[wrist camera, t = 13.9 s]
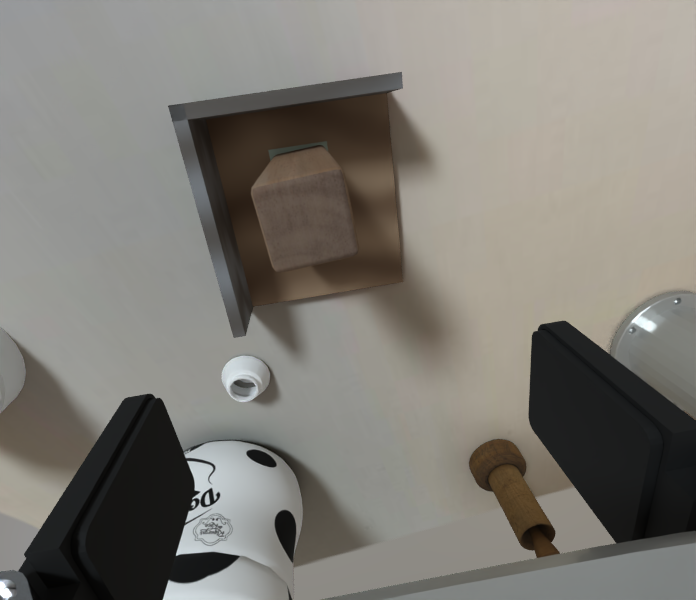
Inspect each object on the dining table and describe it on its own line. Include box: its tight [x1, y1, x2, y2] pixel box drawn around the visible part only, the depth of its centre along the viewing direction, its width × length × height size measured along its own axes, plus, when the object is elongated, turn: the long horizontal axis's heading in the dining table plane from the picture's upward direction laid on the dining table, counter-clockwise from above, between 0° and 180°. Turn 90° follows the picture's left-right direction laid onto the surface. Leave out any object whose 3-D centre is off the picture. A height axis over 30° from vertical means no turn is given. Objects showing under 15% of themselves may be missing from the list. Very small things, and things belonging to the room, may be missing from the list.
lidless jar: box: [222, 356, 270, 402], centre depth 44 cm, size 5×3×5 cm
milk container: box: [163, 440, 303, 600], centre depth 43 cm, size 17×17×18 cm
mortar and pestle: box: [469, 439, 560, 558], centre depth 46 cm, size 7×6×18 cm
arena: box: [168, 72, 403, 338], centre depth 35 cm, size 18×16×7 cm
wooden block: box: [251, 145, 359, 273], centre depth 29 cm, size 9×4×18 cm, turn 11°
